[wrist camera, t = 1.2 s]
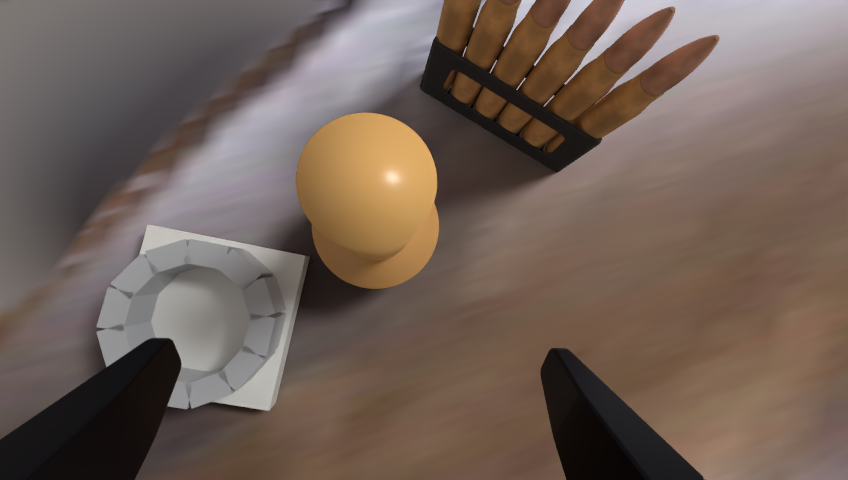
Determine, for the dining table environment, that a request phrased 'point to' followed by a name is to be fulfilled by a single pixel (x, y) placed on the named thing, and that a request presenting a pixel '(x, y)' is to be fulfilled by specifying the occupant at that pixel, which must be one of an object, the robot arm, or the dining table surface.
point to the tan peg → (369, 199)
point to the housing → (208, 314)
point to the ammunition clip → (549, 73)
